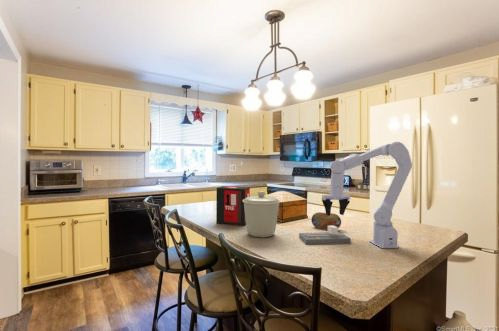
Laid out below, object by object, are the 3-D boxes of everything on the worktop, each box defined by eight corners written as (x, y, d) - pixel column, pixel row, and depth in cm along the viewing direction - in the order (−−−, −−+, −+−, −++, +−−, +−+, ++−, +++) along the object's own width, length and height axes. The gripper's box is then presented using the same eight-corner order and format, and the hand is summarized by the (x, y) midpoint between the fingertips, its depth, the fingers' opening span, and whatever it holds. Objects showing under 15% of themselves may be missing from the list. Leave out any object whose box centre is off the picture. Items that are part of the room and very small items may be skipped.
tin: (311, 227, 142) (311, 211, 142) (312, 226, 145) (312, 210, 145) (340, 231, 135) (340, 214, 135) (341, 229, 138) (341, 213, 138)
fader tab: (337, 236, 119) (337, 227, 119) (331, 236, 119) (331, 227, 119) (333, 233, 123) (333, 225, 123) (327, 233, 123) (327, 225, 122)
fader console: (350, 242, 117) (350, 237, 117) (306, 244, 114) (306, 238, 114) (340, 236, 127) (340, 230, 126) (299, 237, 124) (299, 231, 124)
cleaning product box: (249, 222, 152) (249, 187, 152) (244, 226, 144) (244, 189, 143) (222, 220, 157) (222, 186, 157) (216, 223, 149) (216, 187, 148)
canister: (278, 241, 117) (278, 194, 117) (238, 238, 121) (238, 192, 120) (281, 230, 135) (281, 189, 135) (246, 228, 139) (246, 188, 138)
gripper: (343, 185, 131) (341, 212, 132) (318, 185, 126) (316, 213, 127) (353, 187, 124) (351, 215, 125) (327, 187, 120) (325, 217, 120)
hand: (334, 214), depth 126 cm, fingers open, 7 cm apart
